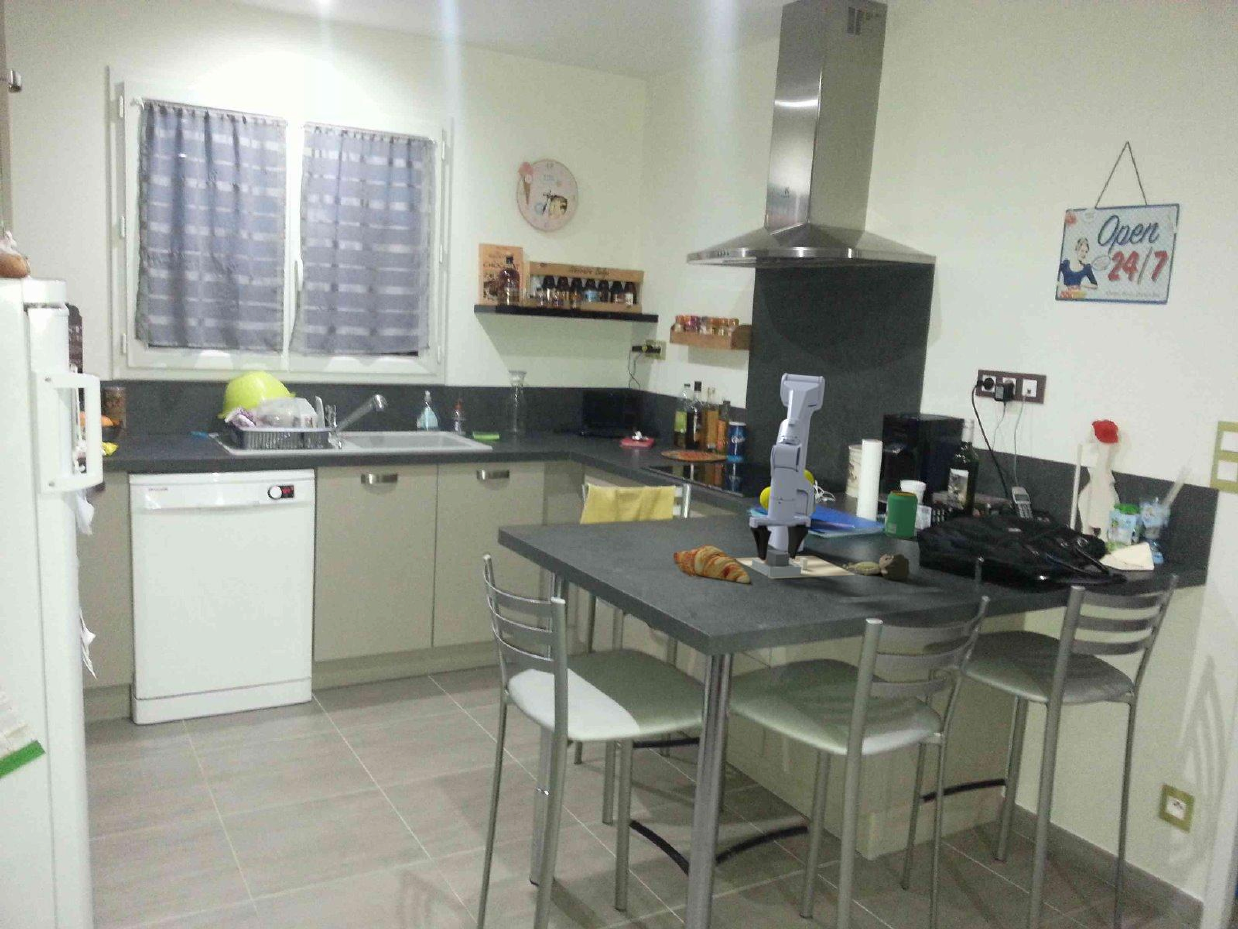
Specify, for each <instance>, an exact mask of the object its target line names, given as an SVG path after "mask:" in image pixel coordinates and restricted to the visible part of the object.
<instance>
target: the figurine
mask: <svg viewBox="0 0 1238 929" xmlns="http://www.w3.org/2000/svg"><path fill="white" fill-rule="evenodd" d="M909 565H910V561H909V559H908V558H906V557H905V556H904V555H903V554H902V553H901V554H900V553H899V554H892V555H888V554H886V553H885V554H883V555H882V556H881V557H880V558H879V562H878V563H876V562H873V561H861V562H858V563H855V564H853V562H849V563H848V565H847V564H843V565H842V569H845V570H851V571H855V573H858V574H862V575H865V576H868V575H870V574H873V575H877V574H880V573H881V574H882V577H883V578H884V579H886V580H891V581H897V582H898V581H899V582H900V581H902V582H904V581H905V580H906V579H907V578H908V577H909V575H910V574H911V572H910V566H909Z"/></svg>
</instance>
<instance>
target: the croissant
mask: <svg viewBox="0 0 1238 929" xmlns="http://www.w3.org/2000/svg"><path fill="white" fill-rule="evenodd" d="M673 561H674V562H675V563H676V564H677V565H678V567H679V568H680V570H681V571H682V572H684V573H686V574H688V575H689V576H692V575H693V576H692V577H694V576H696V577H695V578H697V579H701V577H700V576H702V577H705V578H706V577H707V578H713V579H720V580H723V581H730V582H735V583H741V584H749V583H750V580H751V578H750V577H749V573H748V572H747V571H746V569H745V568H744V567H742V566H741V564H740V562H739V561H737V560H736V559H735V558H734V557H730V556H728V555H727V554H726V553H725V552H724V551H723V550H721V549H719V548H717V547H715V546H712V545H709V544H706V545H702V546H701V547H699V548H694V549H692V550H690V551H688V550H687V551H686V550H683V551H681V552H673Z"/></svg>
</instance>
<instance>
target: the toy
mask: <svg viewBox="0 0 1238 929" xmlns="http://www.w3.org/2000/svg"><path fill="white" fill-rule="evenodd" d="M804 477H805V478H806V479H807V480H808V481H809V482H811V483H812V484H813V486H814V485H815V479H814V476H813V474H812V473H811V472H810V471H809V470H807V469H805V474H804ZM770 488H771V486H768V487H766V488H764V489H763V490H762V492H761V493H760V496H759V502H760V505H761V507H762V508H763V509H764V510H766V511H767V512H768V509H769V499H770ZM797 490H799V489H797ZM800 491H804V490H800ZM815 504H816V495H815V493H814V505H813V511H812V513H813V512H814V513H815V510H816V505H815ZM814 513H813V514H814Z"/></svg>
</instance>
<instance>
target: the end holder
mask: <svg viewBox="0 0 1238 929" xmlns="http://www.w3.org/2000/svg"><path fill="white" fill-rule="evenodd" d="M752 568H753V569H752ZM752 568H751V569H752V570H754V569H755V570H754V571H756V570H757V573H760V574H762V575H764V576H766V577H768V578H770V577H783V576H801V566H799V565H796V564H794V563H792V562H790V561H789V566H779V567H771V566H769V565H767V564H765V563H763V562H761V561H759V560H757V559H753V560H752Z"/></svg>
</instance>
